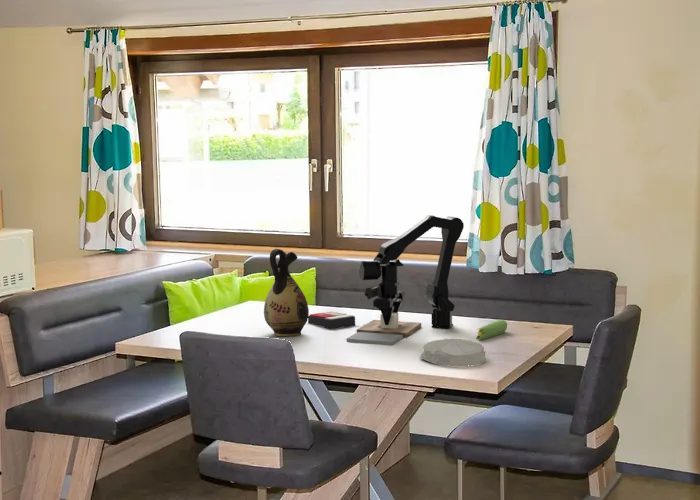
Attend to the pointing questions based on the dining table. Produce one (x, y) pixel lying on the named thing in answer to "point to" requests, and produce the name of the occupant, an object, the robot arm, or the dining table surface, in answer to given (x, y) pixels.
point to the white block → (393, 321)
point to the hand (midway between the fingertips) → (389, 323)
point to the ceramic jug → (285, 298)
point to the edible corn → (492, 329)
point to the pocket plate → (402, 329)
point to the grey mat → (374, 338)
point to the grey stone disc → (454, 352)
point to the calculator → (332, 320)
